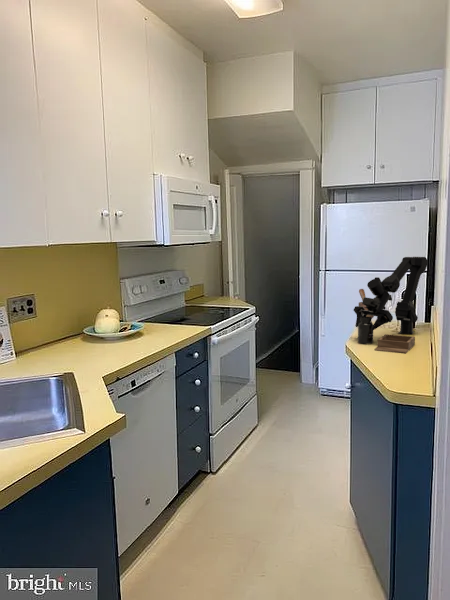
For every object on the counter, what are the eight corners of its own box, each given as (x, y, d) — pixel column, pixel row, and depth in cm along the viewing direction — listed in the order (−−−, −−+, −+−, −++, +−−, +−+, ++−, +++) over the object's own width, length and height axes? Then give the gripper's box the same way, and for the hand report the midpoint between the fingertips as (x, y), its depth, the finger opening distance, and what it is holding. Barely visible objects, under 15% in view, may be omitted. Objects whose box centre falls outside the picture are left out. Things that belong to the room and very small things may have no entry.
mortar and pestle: (350, 325, 262) (351, 289, 259) (362, 323, 266) (362, 288, 264) (367, 329, 252) (367, 291, 250) (378, 326, 257) (379, 289, 254)
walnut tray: (385, 341, 222) (385, 334, 222) (414, 344, 216) (414, 336, 215) (374, 350, 207) (374, 342, 207) (405, 353, 200) (406, 345, 200)
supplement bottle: (373, 344, 218) (374, 318, 216) (358, 344, 219) (358, 318, 218) (372, 341, 225) (372, 315, 223) (357, 340, 226) (357, 315, 224)
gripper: (356, 289, 229) (340, 314, 224) (389, 292, 213) (373, 320, 209) (366, 304, 234) (351, 329, 229) (399, 308, 219) (384, 335, 214)
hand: (364, 328), depth 220 cm, fingers open, 9 cm apart
